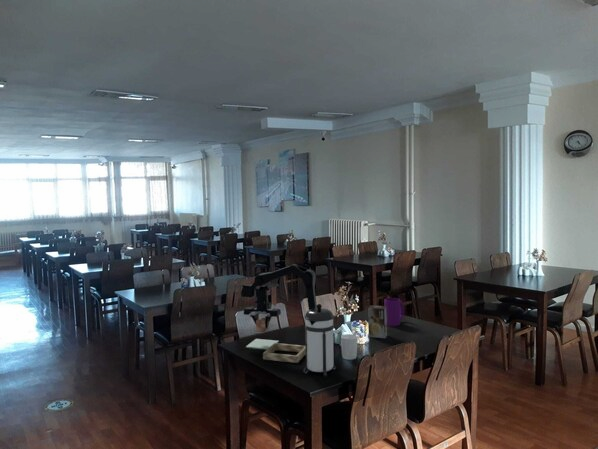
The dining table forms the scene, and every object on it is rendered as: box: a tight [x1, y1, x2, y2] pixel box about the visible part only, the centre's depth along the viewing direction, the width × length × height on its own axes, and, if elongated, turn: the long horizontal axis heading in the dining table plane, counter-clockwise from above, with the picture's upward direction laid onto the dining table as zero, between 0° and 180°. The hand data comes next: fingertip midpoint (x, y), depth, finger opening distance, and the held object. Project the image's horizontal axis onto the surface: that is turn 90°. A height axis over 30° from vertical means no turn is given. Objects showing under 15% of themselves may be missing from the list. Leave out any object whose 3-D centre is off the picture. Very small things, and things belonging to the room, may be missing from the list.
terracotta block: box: [255, 317, 269, 333], centre depth 244 cm, size 4×5×6 cm
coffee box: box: [367, 305, 388, 339], centre depth 256 cm, size 9×6×16 cm
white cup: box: [340, 333, 359, 361], centre depth 224 cm, size 8×8×10 cm
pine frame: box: [262, 342, 306, 364], centre depth 228 cm, size 17×15×3 cm
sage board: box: [245, 338, 280, 351], centre depth 245 cm, size 13×13×1 cm
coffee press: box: [303, 303, 337, 378], centre depth 208 cm, size 17×16×30 cm
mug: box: [383, 297, 405, 327], centre depth 280 cm, size 9×16×15 cm, turn 134°
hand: (262, 328), depth 244 cm, fingers closed on terracotta block, 4 cm apart
